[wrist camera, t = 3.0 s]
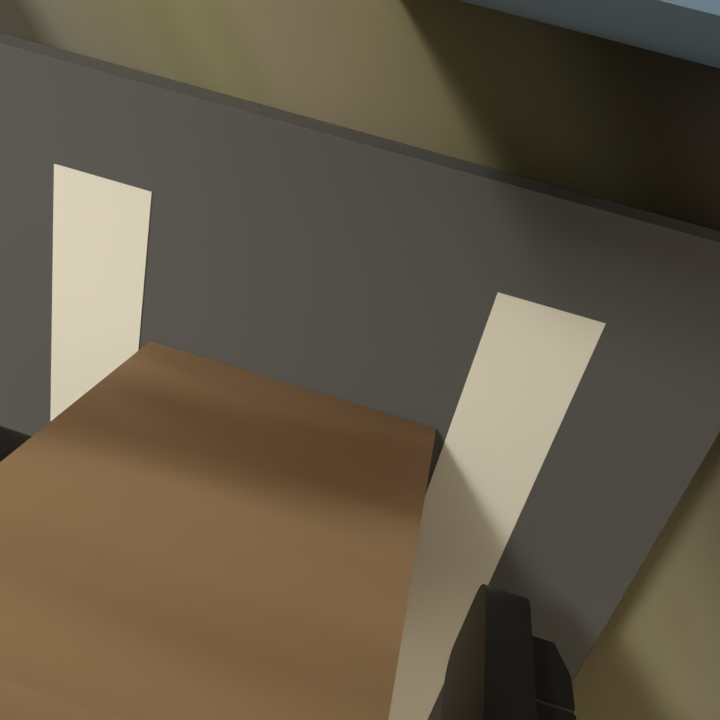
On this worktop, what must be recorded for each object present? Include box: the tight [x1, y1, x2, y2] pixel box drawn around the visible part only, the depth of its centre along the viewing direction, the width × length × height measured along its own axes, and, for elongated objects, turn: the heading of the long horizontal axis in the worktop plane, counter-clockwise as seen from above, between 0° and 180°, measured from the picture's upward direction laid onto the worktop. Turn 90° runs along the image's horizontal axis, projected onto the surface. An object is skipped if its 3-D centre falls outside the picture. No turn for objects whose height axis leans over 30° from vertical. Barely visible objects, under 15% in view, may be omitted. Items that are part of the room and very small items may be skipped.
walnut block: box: [0, 341, 436, 720], centre depth 9 cm, size 5×5×6 cm
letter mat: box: [0, 33, 720, 720], centre depth 12 cm, size 13×13×1 cm
